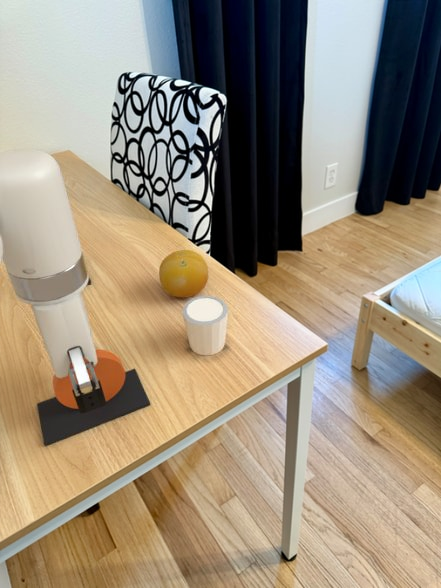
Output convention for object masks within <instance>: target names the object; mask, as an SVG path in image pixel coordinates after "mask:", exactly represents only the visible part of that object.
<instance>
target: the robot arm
mask: <svg viewBox="0 0 441 588" xmlns="http://www.w3.org/2000/svg"><path fill="white" fill-rule="evenodd" d="M61 170H62V169H61V167H60V165H59V163H58V161H57V160H56V159H55V158H54V157H53V156H52V155H51V154H49V153H47V152H46V151H42V150H39V149H31V148H30V149H29V148H20V149H10V150H5V151H1V152H0V266H1V265H2V262H3V264H4V267H5V269H6V272H7V275H8V277H9V279H10V282H11V284H12V288H13V290H14V291H15V294H16V296H17V298H18V299H19V300H20V301H21V302H22V303H24V304H27V305H30V307H31V309H32V310H31V311H32V313H33V316H34V319H35V322H36V325H37V328H38V330H39V333H40V334H39V335H40V336H41V339H42V341H43V345H44V347H45V349H46V353H47V355H48V358H49V362H50V364H51V367H52V369H53V372H54V374H55V376H56V377H58V378H63V377H66V376H67V375H68V374H69V376H70V379H71V383H72V386H73V389H74V390H72V392H73V395H74V398H75V400H76V403H77V406H78V408H79V411H80V413H81V414H83V413H86V412H89V411H92V410H95V409H97V408H99V407H102V406H105V405H106V400H105V396H104V393H103V390H102V386H101V383H100V380H99V381H98V380H97V377H96V374H95V371H94V368H93V365H94V367H95V366H96V364H97V362H98V361H97V355H96V350H95V349H96V346H95V341H94V337H93V332H92V327H91V324H90V320H89V314H88V311H87V307H86V304H85V300H84V297H83V293H82V291H84V289H85V288H86V287H87V286H88V285H87V284H88V281H89V278H90V276H89V272H88V268H87V264H86V260H85V256H84V253H83V249H82V245H81V241H80V237H79V234H78V233H79V232H78V230H77V226H76V223H75V222H76V221H75V219H74V214H73V210H72V207H71V203H70V199H69V197H68V192H67V188H66V184H65V180H64V177H63V174H62V171H61ZM83 357H85V358H86V359H87V360H88V363H84V360H83ZM71 361H72V364H73V368H71V367H70V363H71ZM88 368H89V371H90V374H91V377H92V380H93V381H92V380H90V378H89V375H88V372H87V369H88ZM74 373H75V374H76V377H77V380H78V385H77V381H76V378H75V375H74Z"/></svg>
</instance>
